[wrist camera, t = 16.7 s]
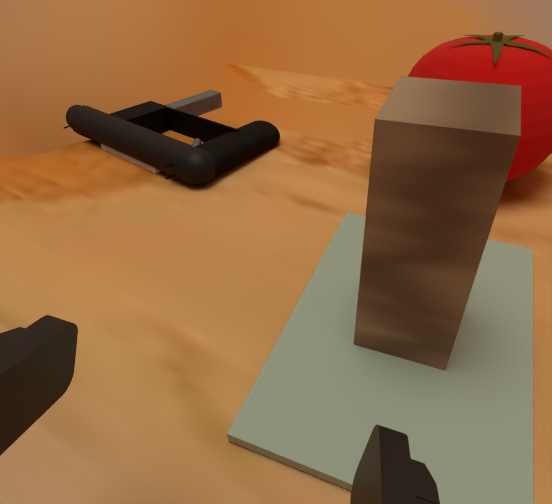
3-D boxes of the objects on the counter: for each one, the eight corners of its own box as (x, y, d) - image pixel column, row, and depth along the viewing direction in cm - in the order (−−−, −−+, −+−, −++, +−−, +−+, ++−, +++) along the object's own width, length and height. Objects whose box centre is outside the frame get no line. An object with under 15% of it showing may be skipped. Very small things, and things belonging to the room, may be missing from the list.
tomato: (441, 223, 31) (476, 69, 25) (368, 149, 41) (380, 22, 34) (577, 195, 33) (644, 44, 27) (478, 130, 42) (510, 6, 36)
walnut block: (353, 344, 23) (374, 118, 15) (373, 286, 26) (400, 76, 18) (445, 371, 21) (520, 135, 14) (455, 306, 24) (521, 86, 17)
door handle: (176, 74, 54) (49, 110, 44) (310, 109, 43) (183, 166, 33) (180, 101, 56) (59, 142, 46) (309, 141, 45) (188, 205, 35)
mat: (228, 440, 20) (227, 433, 19) (346, 218, 32) (346, 212, 32) (528, 563, 16) (533, 558, 15) (529, 255, 28) (532, 248, 28)
